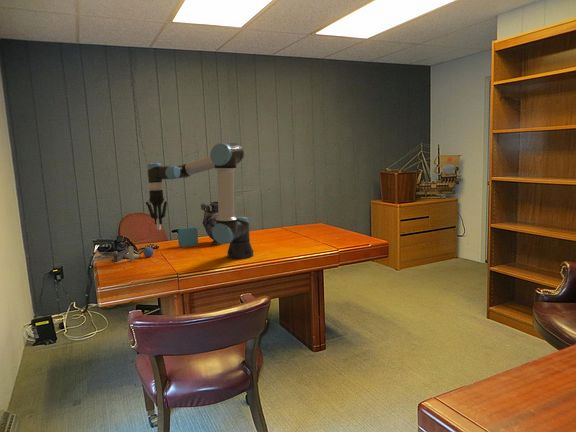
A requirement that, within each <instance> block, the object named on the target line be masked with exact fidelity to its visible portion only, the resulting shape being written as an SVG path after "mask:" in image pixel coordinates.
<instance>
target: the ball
mask: <svg viewBox="0 0 576 432" xmlns="http://www.w3.org/2000/svg"><path fill="white" fill-rule="evenodd" d="M142 253H143V256H145V257H147V258H150V257H152V256H153V255H154V253H155V252H154V248H153V247H150V246H148V247H147V246H146V247H145V248H143V251H142Z"/></svg>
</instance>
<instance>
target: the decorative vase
mask: <svg viewBox="0 0 576 432" xmlns="http://www.w3.org/2000/svg"><path fill="white" fill-rule="evenodd" d="M200 208H201V209H200V210H202V211H204V212H203V221H202V226H203V227H204V229H205V232H206V234H207V235H208V237H209V238H210V239H211V240H213V241H211V243H212V245H215V244H219V245H221V244H220V243H218V242H217V241H216V240H215V239H214V238H213V235H212V229H213V227H214V226H215V225H216V218H217V217H218V215H219V214H218V201H212V202H210V204H207V203H201V204H200Z"/></svg>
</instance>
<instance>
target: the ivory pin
mask: <svg viewBox="0 0 576 432" xmlns="http://www.w3.org/2000/svg"><path fill="white" fill-rule="evenodd" d="M140 257H141V254H138V253H137V254H136V253H134V259H140ZM124 259H130V258H129V254H125V258H124Z"/></svg>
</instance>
